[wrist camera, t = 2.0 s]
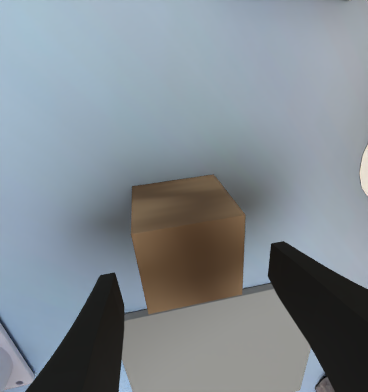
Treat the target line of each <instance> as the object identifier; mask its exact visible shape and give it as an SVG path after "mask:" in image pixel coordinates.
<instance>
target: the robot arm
mask: <svg viewBox="0 0 368 392" xmlns="http://www.w3.org/2000/svg"><path fill="white" fill-rule="evenodd" d="M268 277H269V279H270V281H271V284H272V286H273V288H274V290H275V292H276V294H277V296H278V297H279V299H280V300H281V302H282V304H283V305H284V307H285V308H286V310H287V311H288V313H289V314H290V316H291V317H292V319H293V320H294V322H295V323H296V325H297V327H298V328H299V330H300V331H301V333H302V334H303V336H304V337H305V339H306V340H307V342H308V343H309V345H310V347H311V348H312V350H313V352H314V353H315V355H316V357H317V359H318V361H319V363H320V364H321V366H322V368H323V370H324V372H325V374H326V376H327V377H328V379H329V381H330V383H331V385H332V387H333V389H334V391H335V392H368V289H366V288H364V287H362V286H360V285H358V284H356V283H354V282H352V281H350V280H349V279H347V278H345V277H343V276H341V275H339V274H337V273H336V272H334V271H332V270H330V269H329V268H327V267H325V266H324V265H322V264H320V263H318V262H317V261H315V260H314V259H312V258H310V257H309V256H307V255H305V254H304V253H302V252H300V251H299V250H297V249H296V248H294V247H292V246H291V245H289V244H287V243H285V242H284V241H283V242H277V243H272V244H271V251H270V260H269V270H268ZM123 339H124V303H123V299H122V295H121V292H120V288H119V285H118V281H117V278H116V274H115V273H110V274H105V275H100V277H99V278H98V280H97V282H96V284H95V286H94V288H93V290H92V292H91V294H90V296H89V297H88V299H87V301H86V303H85V305H84V306H83V308H82V310H81V312H80V313H79V315H78V317H77V319H76V320H75V322H74V324H73V325H72V327H71V328H70V330H69V331H68V333H67V335H66V336H65V338H64V339H63V341H62V342H61V344H60V345H59V347H58V348H57V350H56V351H55V353H54V354H53V355H52V357H51V358H50V360H49V361H48V362H47V364H46V365H45V367H44V368H43V369H42V371H41V372H40V373H39V375H38V376H37V377H36V378H35V380H34V377H35V376H34V374H33V372H32V371H31V369H30V368H29V366H28V365H27V363H26V362H25V360H24V358H23V357H22V355H21V354H20V352H19V351H18V349H17V348H16V346H15V345H14V343H13V342H12V340H11V339H10V337H9V335H8V334H7V332H6V331H5V329H4V328H3V326H2V325H1V323H0V392H4V390H7V389H11V388H15V387H19V386H24V385H28V384H31V385H30V386H29V387H28V389H27V390H26V391H25V392H118V391H119V380H120V370H121V360H122V350H123ZM33 380H34V381H33Z"/></svg>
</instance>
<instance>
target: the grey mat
mask: <svg viewBox="0 0 368 392" xmlns="http://www.w3.org/2000/svg"><path fill="white" fill-rule="evenodd" d="M310 349H311V347H310V345H309V343H308V342H307V340H306V339H305V337H304V336H303V334H302V333H301V331H300V330H299V328H298V327H297V325H296V323H295V322H294V320H293V319H292V317H291V316H290V314H289V313H288V311H287V310H286V308H285V307H284V305H283V304H282V302H281V300H280V299H279V297H278V296H277V294H276V292H275V290H274V288H273V286H272V284H271V283H270V284H265V285H261V286H256V287H251V288H246V289H242V295H238V296H233V297H228V298H224V299H219V300H214V301H209V302H205V303H200V304H195V305H191V306H186V307H181V308H176V309H172V310H167V311H162V312H157V313H153V314H148V309H146V310H142V311H137V312H132V313H127V314H124V339H123V350H122V361H123V364H124V367H125V370H126V373H127V376H128V379H129V382H130V385H131V388H132V391H133V392H295V391H299V390H300V388H301V384H302V380H303V376H304V372H305V368H306V365H307V361H308V357H309V353H310Z"/></svg>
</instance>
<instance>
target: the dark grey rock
mask: <svg viewBox="0 0 368 392" xmlns="http://www.w3.org/2000/svg"><path fill="white" fill-rule="evenodd" d="M316 392H335V391H334V389H333V387H332V385H331V383H330V381H329V379H328V377H326V378H324V379H323V380H322V381H321V382H320V383H319V385H318V386H317V387H316Z"/></svg>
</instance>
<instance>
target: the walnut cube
mask: <svg viewBox="0 0 368 392" xmlns="http://www.w3.org/2000/svg"><path fill="white" fill-rule="evenodd" d="M131 236H132V241H133V245H134V250H135V255H136V259H137V264H138V268H139V273H140V277H141V282H142V286H143V291H144V296H145V300H146V305H147V309H148V314H153V313H157V312H162V311H167V310H172V309H176V308H181V307H186V306H191V305H195V304H200V303H205V302H209V301H214V300H219V299H224V298H228V297H233V296H238V295H242V288H243V263H244V239H245V214H244V212H243V211H242V210H241V209H240V207H239V206H238V205H237V203H236V202H235V201H234V200H233V198H232V197H231V196H230V195H229V193H228V192H227V191H226V190H225V188H224V187H223V186H222V184H221V183H220V182H219V181H218V179H217V178H216V177H215V176H214V174H213V175H206V176H200V177H193V178H186V179H179V180H172V181H165V182H159V183H152V184H145V185H138V186H132V213H131Z"/></svg>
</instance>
